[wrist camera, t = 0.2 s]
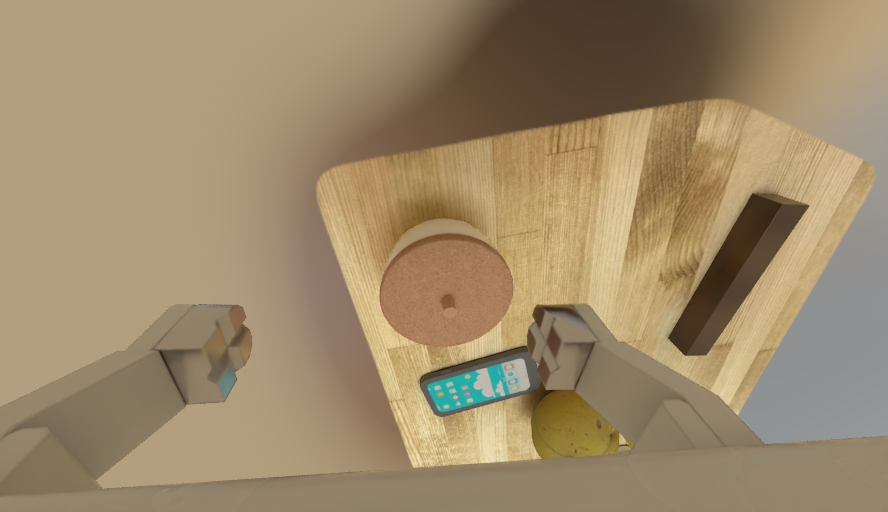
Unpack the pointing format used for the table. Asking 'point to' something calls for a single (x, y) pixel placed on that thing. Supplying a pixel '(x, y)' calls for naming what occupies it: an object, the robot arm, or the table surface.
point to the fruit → (571, 428)
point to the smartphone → (481, 382)
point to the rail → (736, 270)
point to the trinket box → (445, 284)
